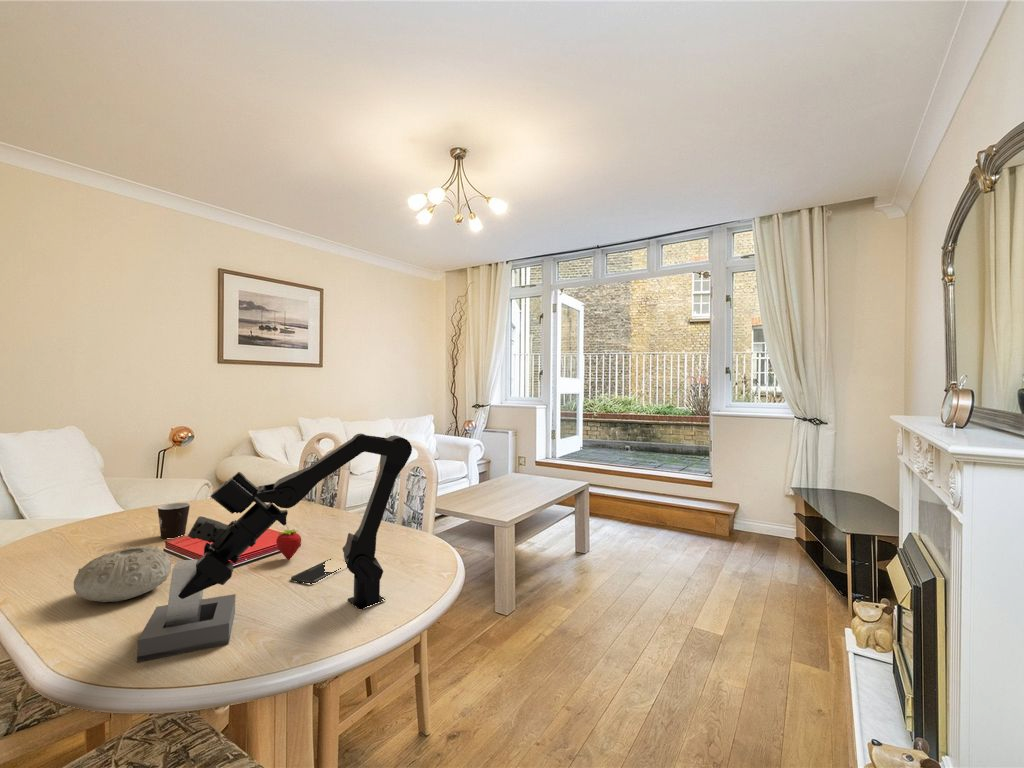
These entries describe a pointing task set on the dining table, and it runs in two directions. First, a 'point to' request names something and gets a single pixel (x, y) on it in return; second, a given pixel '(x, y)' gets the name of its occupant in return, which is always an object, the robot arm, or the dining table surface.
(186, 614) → the steel block
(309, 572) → the phone
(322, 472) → the robot arm
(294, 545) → the strawberry
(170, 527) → the coffee mug
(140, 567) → the decorative shell
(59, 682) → the dining table surface
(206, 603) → the cradle
